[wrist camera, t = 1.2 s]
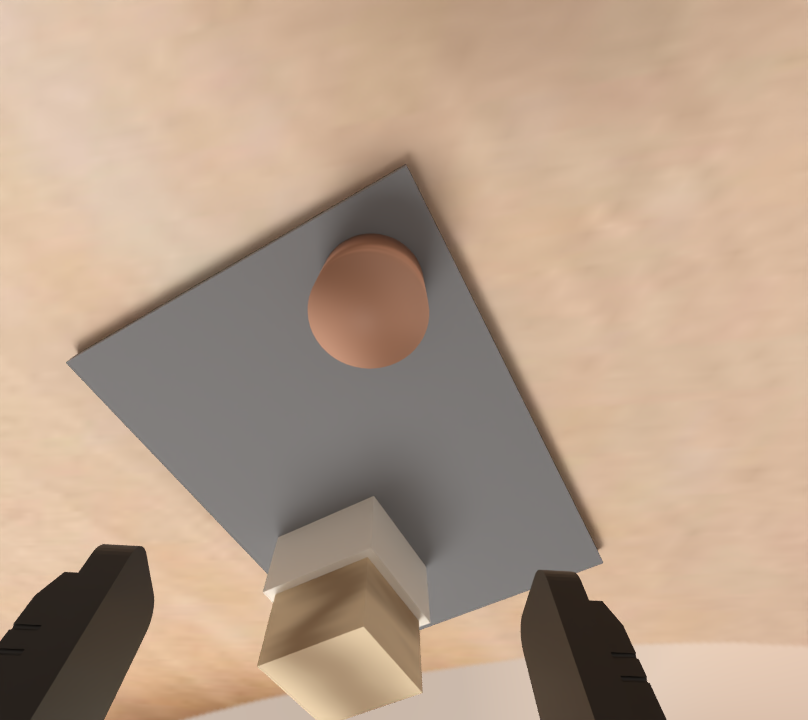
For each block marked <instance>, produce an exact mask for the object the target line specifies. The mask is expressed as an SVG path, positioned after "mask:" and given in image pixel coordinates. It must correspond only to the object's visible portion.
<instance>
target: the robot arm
mask: <svg viewBox="0 0 808 720" xmlns="http://www.w3.org/2000/svg"><path fill="white" fill-rule="evenodd" d="M153 608H154V593H153V588H152V582H151V577H150V571H149V566H148V560H147V555H146V551H145V549H144V548H143V547H142V546H127V545H109V544H102V545H100V546H98V547H97V548H96V549H95V550H94V551H93V553H92V554H91V555H90V557H89V558H88V560H87V561H86V563H85V564H84V565H83V567H82V568H81V570H80V571H79V573H73V572H64V573H63V574H61V575H60V576H59V577H58V578H56V579H55V580H54V581H53V582H51V583H50V584H49V585H48V586H46V587H45V588H44V589H42V590H41V591H40V592H39V593H37V594H36V595H35V596H34V597H33V599H32V600H31V601H30V603H29V604H28V605H27V607H26V608H25V609H24V611H23V612H22V613H21V615H20V616H19V617H18V619H17V620H16V621H15V623H14V626H13V628H12V629H11V630H8V632H7V633H6V634H5V636H4V637H3V638H2V640H1V641H0V720H104V719H105V717H106V715H107V712H108V710H109V708H110V706H111V704H112V702H113V700H114V698H115V696H116V694H117V692H118V690H119V688H120V686H121V684H122V681H123V679H124V677H125V675H126V673H127V671H128V669H129V667H130V665H131V663H132V661H133V659H134V657H135V655H136V653H137V650H138V648H139V646H140V644H141V642H142V640H143V638H144V636H145V634H146V632H147V630H148V627H149V624H150V621H151V618H152V614H153ZM521 641H522V648H523V652H524V656H525V660H526V664H527V668H528V672H529V676H530V680H531V684H532V688H533V692H534V696H535V700H536V704H537V708H538V712H539V716H540V720H666V717H665V715H664V713H663V711H662V709H661V707H660V705H659V702H658V700H657V699H656V696H655V694H654V692H653V689H652V688H651V685H650V683H648V682H647V679H646V678H647V676H646V674H645V672H644V670H643V668H642V665H641V663H640V661H639V659H637V658H636V652H635V650H634V648H633V646H632V644H631V642H630V639H629V637H628V635H627V633H626V631H625V629H624V626H623V625H622V624H621V622H620V621H619V620H618V619H617V618H616V617H615V615H614V614H613V613H612V612H611V611H610V610H609V608H608V607H607V606H606V605H605V604H604V603H603V601H589V599H588V597H587V594H586V592H585V589H584V587H583V585H582V582H581V580H580V578H579V576H578V575H577V574H576V573H575V572H572V571H555V570H538V571H537V572H536V573H535V576H534V579H533V582H532V586H531V589H530V592H529V595H528V598H527V601H526V605H525V608H524V611H523V614H522V619H521Z"/></svg>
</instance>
